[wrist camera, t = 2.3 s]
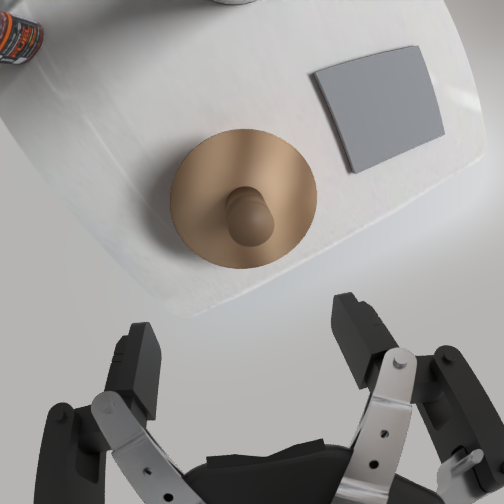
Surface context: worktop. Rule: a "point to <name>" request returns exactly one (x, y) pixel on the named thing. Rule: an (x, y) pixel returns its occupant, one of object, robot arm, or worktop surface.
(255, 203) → the lid
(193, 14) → the worktop surface
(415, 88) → the mat
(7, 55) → the supplement bottle
